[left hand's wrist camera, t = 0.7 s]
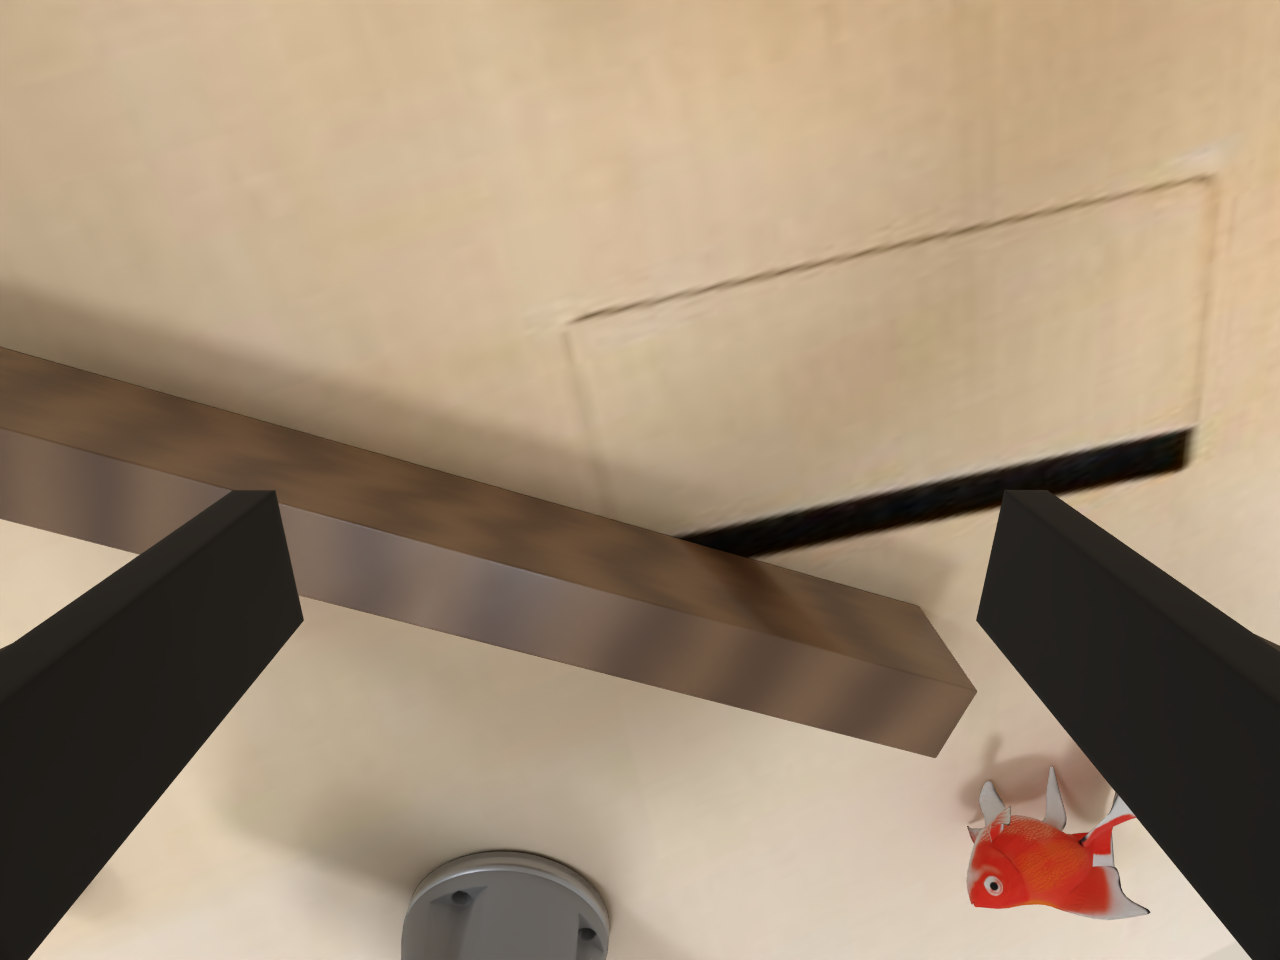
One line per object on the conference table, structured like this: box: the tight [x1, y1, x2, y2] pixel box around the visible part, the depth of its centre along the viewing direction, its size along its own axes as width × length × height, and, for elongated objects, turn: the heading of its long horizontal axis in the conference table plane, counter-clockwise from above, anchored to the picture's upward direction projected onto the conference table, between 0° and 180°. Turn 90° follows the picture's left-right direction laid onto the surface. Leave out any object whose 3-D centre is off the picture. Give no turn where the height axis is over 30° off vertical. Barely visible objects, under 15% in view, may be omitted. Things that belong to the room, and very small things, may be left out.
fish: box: [967, 766, 1150, 920], centre depth 43 cm, size 11×16×10 cm
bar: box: [0, 347, 977, 758], centre depth 35 cm, size 73×5×8 cm, turn 73°
